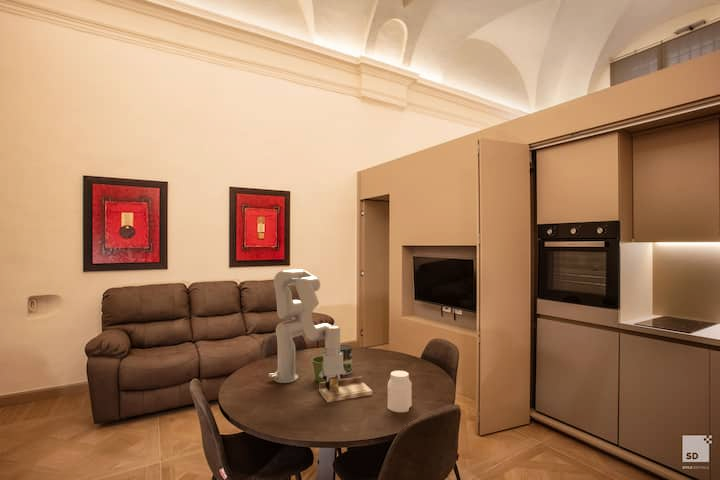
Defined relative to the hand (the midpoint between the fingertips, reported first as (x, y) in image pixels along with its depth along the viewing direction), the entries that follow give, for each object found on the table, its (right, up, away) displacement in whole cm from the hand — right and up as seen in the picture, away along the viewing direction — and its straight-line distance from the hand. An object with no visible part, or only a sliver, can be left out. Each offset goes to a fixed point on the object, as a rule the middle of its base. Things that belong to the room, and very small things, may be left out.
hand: (332, 387), depth 182 cm
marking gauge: (+1, -1, -2) cm, 3 cm away
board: (+6, -3, 0) cm, 7 cm away
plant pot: (-7, -3, +19) cm, 20 cm away
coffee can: (+4, -3, +32) cm, 32 cm away
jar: (+32, -3, -15) cm, 35 cm away
